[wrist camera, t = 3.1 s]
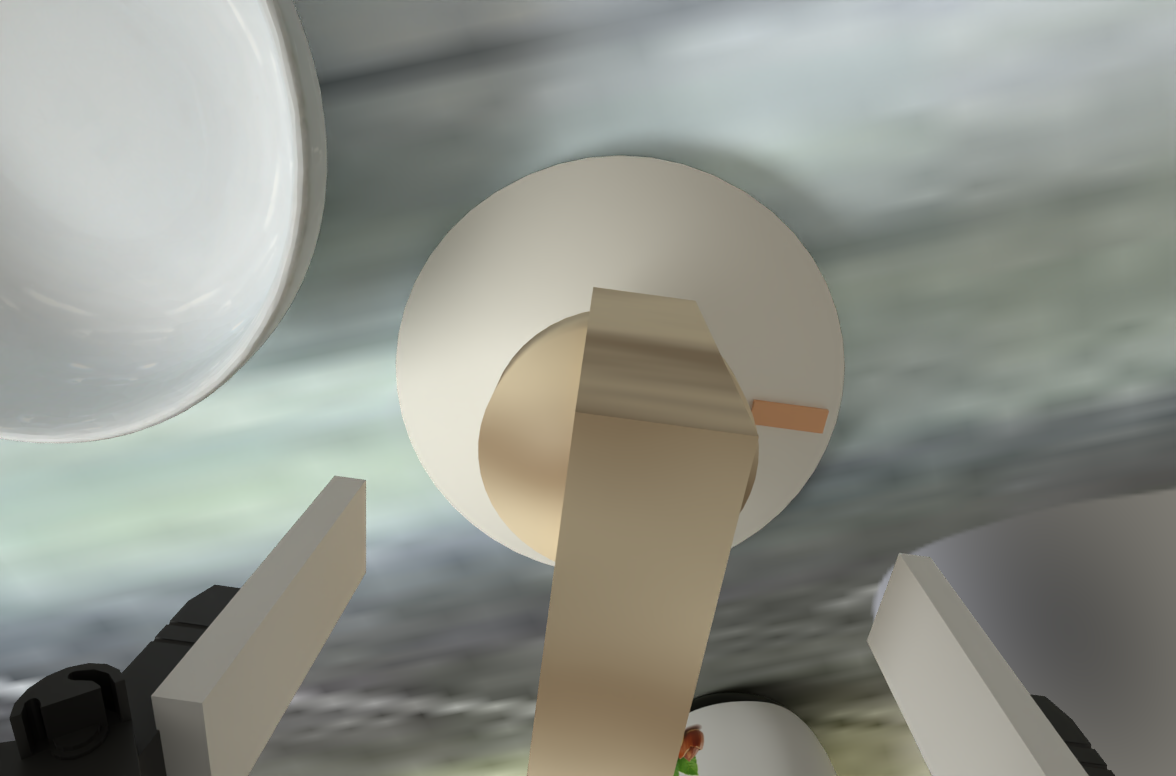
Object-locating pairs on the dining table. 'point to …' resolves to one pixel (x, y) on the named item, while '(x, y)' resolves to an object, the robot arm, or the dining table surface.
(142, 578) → the dining table surface
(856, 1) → the dining table surface
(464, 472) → the dial plate
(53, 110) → the serving bowl
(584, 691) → the lever handle
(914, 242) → the dining table surface
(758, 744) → the spread jar
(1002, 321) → the dining table surface
